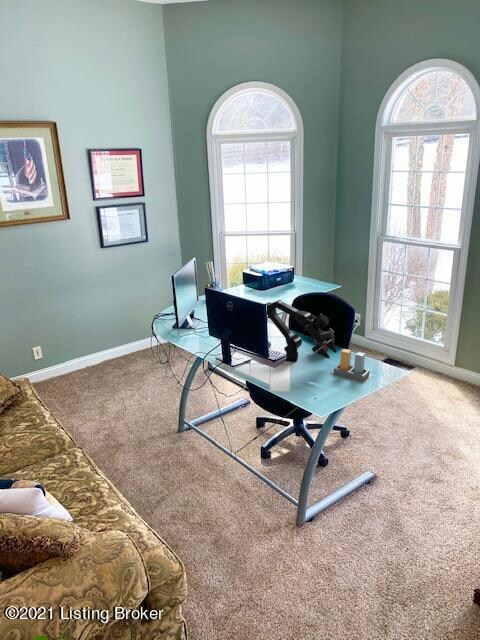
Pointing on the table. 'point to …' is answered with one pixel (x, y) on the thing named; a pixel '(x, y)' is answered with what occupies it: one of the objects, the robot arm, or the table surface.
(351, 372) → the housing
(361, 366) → the grey rectangular block
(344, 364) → the yellow upright block
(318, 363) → the table surface
